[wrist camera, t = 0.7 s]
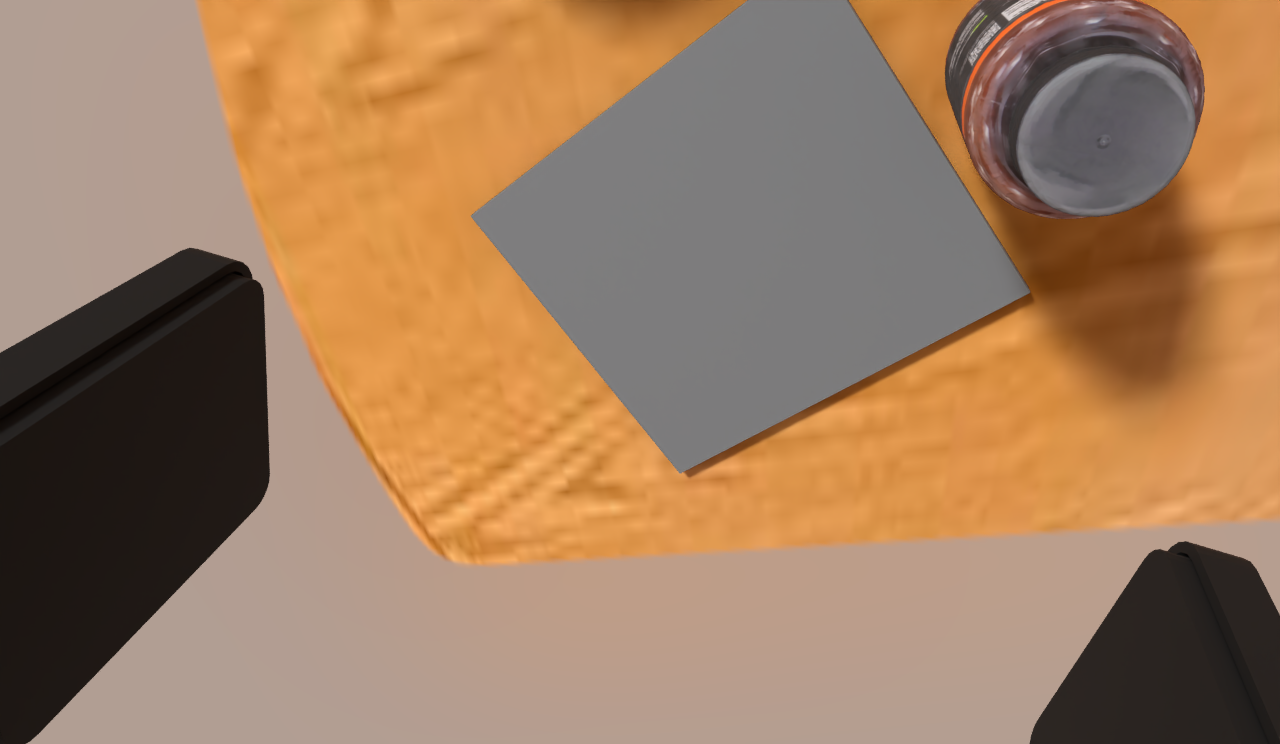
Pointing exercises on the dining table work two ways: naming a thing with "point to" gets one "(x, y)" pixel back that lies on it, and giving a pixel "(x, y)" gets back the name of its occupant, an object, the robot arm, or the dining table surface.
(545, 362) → the dining table surface
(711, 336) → the mat
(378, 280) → the dining table surface
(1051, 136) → the supplement bottle
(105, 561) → the robot arm
